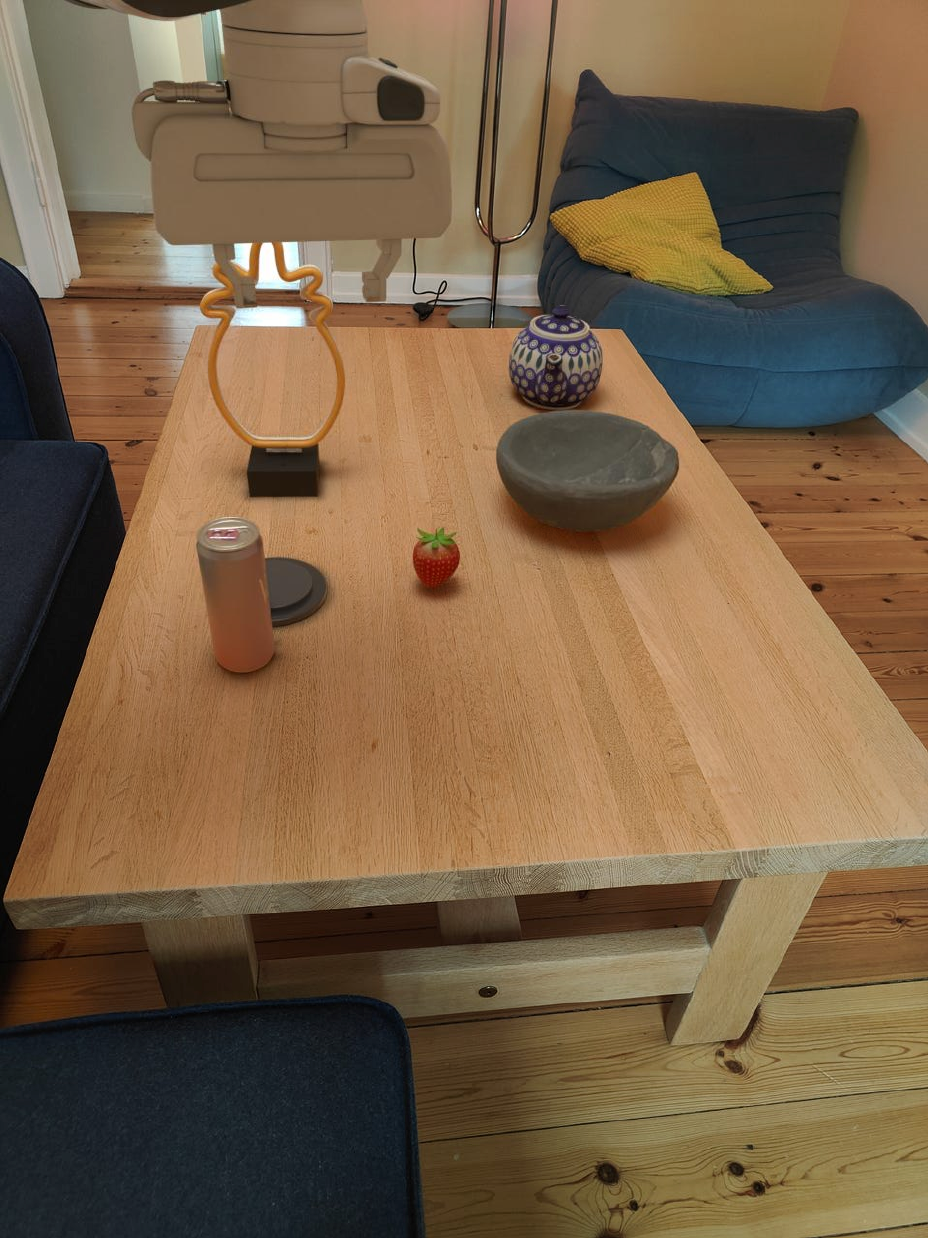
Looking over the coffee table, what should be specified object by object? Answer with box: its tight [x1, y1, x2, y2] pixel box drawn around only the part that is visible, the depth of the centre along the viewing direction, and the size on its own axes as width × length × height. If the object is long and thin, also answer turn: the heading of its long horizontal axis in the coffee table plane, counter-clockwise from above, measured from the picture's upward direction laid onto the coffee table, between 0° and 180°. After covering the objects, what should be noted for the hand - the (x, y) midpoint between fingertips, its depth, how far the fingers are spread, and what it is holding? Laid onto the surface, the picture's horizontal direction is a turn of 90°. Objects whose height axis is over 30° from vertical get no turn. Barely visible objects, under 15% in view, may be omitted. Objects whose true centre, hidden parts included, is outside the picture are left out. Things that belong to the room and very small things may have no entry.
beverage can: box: [195, 516, 276, 674], centre depth 83 cm, size 6×6×15 cm
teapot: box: [508, 304, 604, 411], centre depth 137 cm, size 25×15×15 cm, turn 169°
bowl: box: [495, 409, 680, 533], centre depth 110 cm, size 23×22×10 cm
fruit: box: [412, 526, 461, 589], centre depth 96 cm, size 5×5×8 cm
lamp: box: [199, 242, 346, 498], centre depth 106 cm, size 17×9×32 cm, turn 96°
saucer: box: [265, 556, 328, 628], centre depth 96 cm, size 12×12×1 cm
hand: (311, 302), depth 63 cm, fingers open, 8 cm apart
